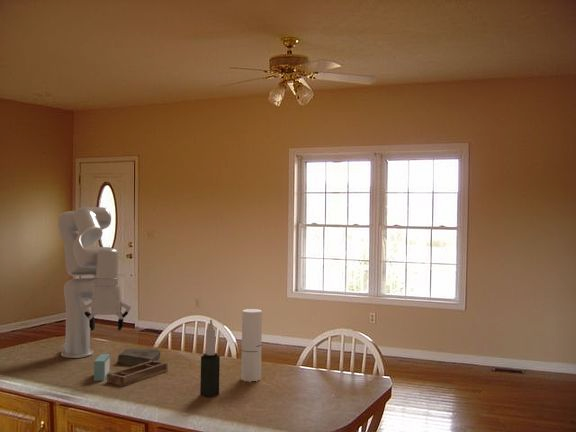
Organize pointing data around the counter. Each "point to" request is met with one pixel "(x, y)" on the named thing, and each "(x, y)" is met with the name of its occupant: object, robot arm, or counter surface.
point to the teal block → (101, 367)
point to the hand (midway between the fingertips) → (106, 329)
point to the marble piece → (138, 356)
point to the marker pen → (210, 366)
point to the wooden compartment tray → (137, 373)
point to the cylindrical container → (251, 344)
